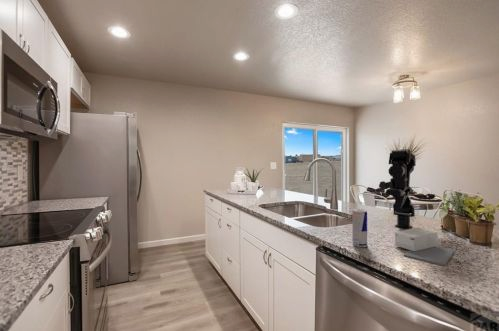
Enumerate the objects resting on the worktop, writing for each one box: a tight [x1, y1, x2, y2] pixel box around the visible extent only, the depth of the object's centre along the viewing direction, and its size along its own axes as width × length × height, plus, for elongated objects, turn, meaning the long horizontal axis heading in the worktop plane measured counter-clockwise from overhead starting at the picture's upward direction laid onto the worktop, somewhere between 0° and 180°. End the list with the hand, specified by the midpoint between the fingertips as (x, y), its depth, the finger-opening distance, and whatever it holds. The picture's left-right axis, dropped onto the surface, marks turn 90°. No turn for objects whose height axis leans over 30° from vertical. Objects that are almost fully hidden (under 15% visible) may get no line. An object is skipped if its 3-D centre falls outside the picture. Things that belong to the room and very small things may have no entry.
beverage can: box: [351, 208, 368, 248], centre depth 101 cm, size 6×6×15 cm
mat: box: [403, 246, 455, 267], centre depth 92 cm, size 18×12×1 cm, turn 132°
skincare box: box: [394, 227, 438, 251], centre depth 99 cm, size 8×6×15 cm
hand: (399, 208), depth 117 cm, fingers closed
